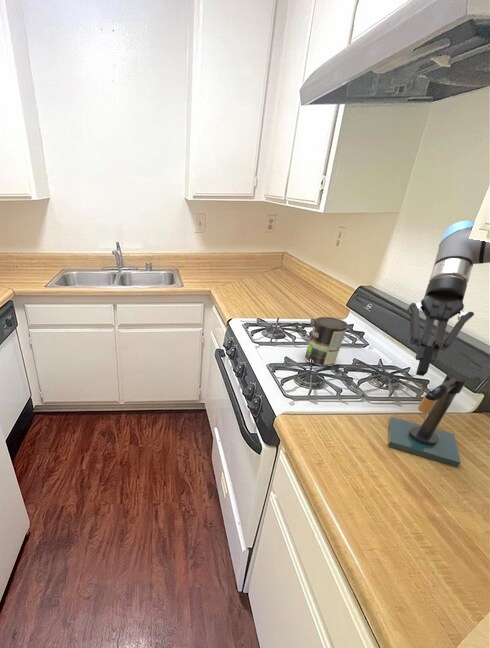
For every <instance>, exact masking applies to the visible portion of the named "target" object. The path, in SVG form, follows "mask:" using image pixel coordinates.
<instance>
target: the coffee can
mask: <svg viewBox="0 0 490 648" xmlns="http://www.w3.org/2000/svg"><path fill="white" fill-rule="evenodd" d="M348 327H349V324H348V323H347V322H346V321H344V320H342V319H340V318H336V317H330V316H321V317H316V318H315V319H314V321H313V326H312V331H311V333H310V336H309V337H310V338H309V341H308V345H307V349H306V352H305V354H304V361H306V362H307V363H308V364H310V363H309V362H310V359H311V357H312V360H313V362H314V363H318V364H321V365H334V366H335V365H336V362H337V358H338V356H339V352H340V349H341V346H342V344H343V340H344V337H345V335H346V331H347V330H348Z"/></svg>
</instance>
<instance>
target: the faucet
mask: <svg viewBox="0 0 490 648" xmlns="http://www.w3.org/2000/svg"><path fill="white" fill-rule="evenodd" d="M456 395H457V394H454V393H449V392H448V393H446V394H445V395H443V396H442V397H441V398H439V399H438V400H437V401H436V403H435V405H434V407H433V408H432V410H431V412H430V413H427V415H426V416H425V418H424V420H423V422H422V424H420V423H416V422H412V421H409V420H405V419H402V418H398V417H395V416H390V417H389V419H388V426H387V427H388V430H387V447H390V448H392V449H396V450H399V451H403V452H405V453H409V454H412V455H414V456H419V457H422V458H426V459H429V460H431V461H435V462H438V463H442V464H445V465H448V466H452V467H454V468H459V466H460V465H461V463H462V461H461V458H460V453H459V449H458V444H457V440H456V435H455V433H453V432H449V431H446V430H443V429H442V430H441V429H438V426H439V425H440V423H441V421H442V420H443V418H444V417H445V415H446V413H447V411H448V409H449V408H450V406H451V405H452V403H453V402H454V399H455V397H456Z"/></svg>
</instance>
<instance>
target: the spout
mask: <svg viewBox="0 0 490 648" xmlns="http://www.w3.org/2000/svg"><path fill="white" fill-rule="evenodd" d="M467 382H468V380H467V378H466V377H465V376H462V375H459V374H456V373H447V374H446V376H445V378H444V379H443V381H442V383H441V384H439V385H438V386H436V387H435V388H434V389H432V390H430V391H429V392H428V393H426V394H425V395H424V396H423V398H422V400H421V401H420V402H419V405H418V407H417V410H418V411H419V412H421V413H424V414H428V413H430V412H431V410H432V408H433V407H434V405H435V403H436V401H437V400H438V399H439V398H441V397H442V396H443V395H445V394H446V393H448V392H449V393H454V394H456V395H457V394H460V393H461V392H462V390H463V388H464V386H465V385H466V383H467Z"/></svg>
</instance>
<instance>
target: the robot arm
mask: <svg viewBox="0 0 490 648" xmlns="http://www.w3.org/2000/svg"><path fill="white" fill-rule="evenodd" d="M474 223H475V220H473V221H470V219H469V220H461V221H458V222H455V223H453V224H451V225H450V226H449V227H448V228H447V229H445V231H444V233H443V235H442V238H441V240H440V242H439V244H438V249H437V253H436V257H435V260H434V264H433V267H432V271H431V274H430V277H429V279H428V284H427V287H426V290H425V293H424V297H423V298H422V299H421V300H420V301H419V302H417V303H415V302H411V303H410V304H409V305H408V308H407V309H406V310H407V311H406V312H407V313H408V315H409V321H410V322H409V337H410V338H409V341H410V344H411V345H415V346H416V348H417V350H416V354H415V357H414V358H415V360H416V361H419V362H418V365H417V367H416V371H415V376H421V377H424V376H426V374H428V371H429V367H430V364H433V363H435V361H437V360H438V355H439V352H440V351H446V350H447V349H449V348H450V347H451V346H452V344H453V343H454V341H455V340H456V338H457V336H458V335H459V333H460V332H461V330H462V329H463V328H464V326H465V325H466V323H467V322H468V321H470V320H471V318H473V316H474V315H475V312H473V311H467V310H466V309H465V304H464V297H465V295H466V291H467V287H468V284H469V281H470V277H471V273H472V269H473V266H474V265H478V264H479V265H481V264H490V243H489V242H485V241H480V240H473V239H469V236H470V234H471V231H472V228H473V226H474ZM420 311H422V313H423V314H424V316H425V320H424V325H423V329H422V332H421V331H420V330H421V329H420V327H421V326H420ZM455 316H457V320H458V321H457V322H456V323H455V324H454V326H453V328H452V329H451V330H450V332H449V334H448V336H447V337H446V338H445V340H444V336H445V334H446V333H445V332H446V329H447V327H448V326H447V325H448V322H449V320H451V319H452V318H453V317H455ZM435 321H437V326H436V330H435V332H434V336H433V340H432V344H431V345H428V343H429V341H430V337H431V334H432V330H433V326H434V323H435ZM420 334H421V335H420ZM443 341H444V342H443Z"/></svg>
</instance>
